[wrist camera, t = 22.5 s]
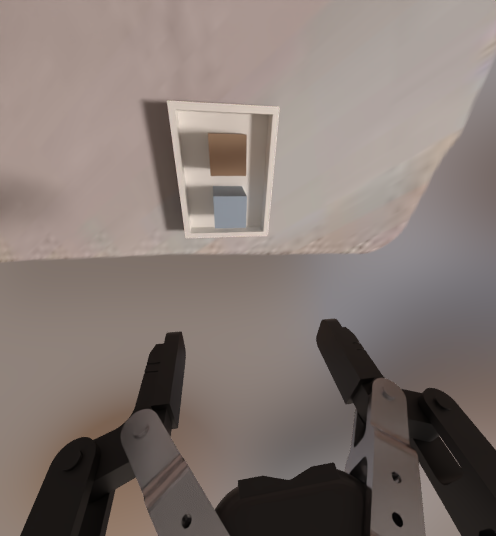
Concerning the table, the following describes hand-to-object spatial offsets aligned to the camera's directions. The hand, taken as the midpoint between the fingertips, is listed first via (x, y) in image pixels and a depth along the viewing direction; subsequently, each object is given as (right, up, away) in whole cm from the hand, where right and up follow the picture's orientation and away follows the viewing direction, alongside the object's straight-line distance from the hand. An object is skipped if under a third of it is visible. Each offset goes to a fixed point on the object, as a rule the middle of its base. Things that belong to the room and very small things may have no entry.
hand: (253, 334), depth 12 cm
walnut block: (-4, +21, +19) cm, 28 cm away
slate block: (-4, +15, +22) cm, 27 cm away
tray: (-4, +18, +21) cm, 28 cm away
